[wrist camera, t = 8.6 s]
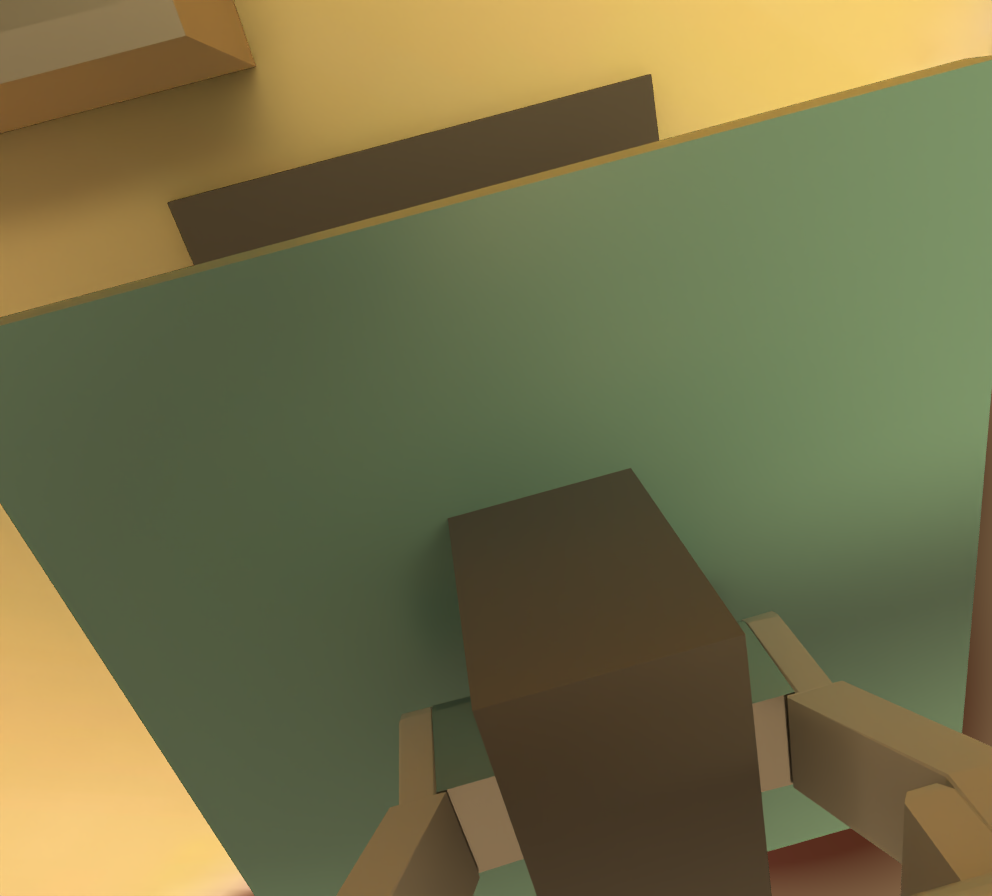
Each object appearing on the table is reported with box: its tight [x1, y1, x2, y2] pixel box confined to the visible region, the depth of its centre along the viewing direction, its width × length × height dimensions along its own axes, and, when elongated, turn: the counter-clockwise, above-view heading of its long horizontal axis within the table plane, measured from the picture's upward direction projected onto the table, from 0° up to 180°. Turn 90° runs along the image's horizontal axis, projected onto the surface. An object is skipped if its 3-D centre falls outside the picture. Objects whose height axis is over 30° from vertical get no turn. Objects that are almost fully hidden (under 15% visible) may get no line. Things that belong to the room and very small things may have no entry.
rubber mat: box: [168, 74, 659, 265], centre depth 26 cm, size 16×16×1 cm
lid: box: [0, 56, 992, 896], centre depth 11 cm, size 15×15×6 cm
